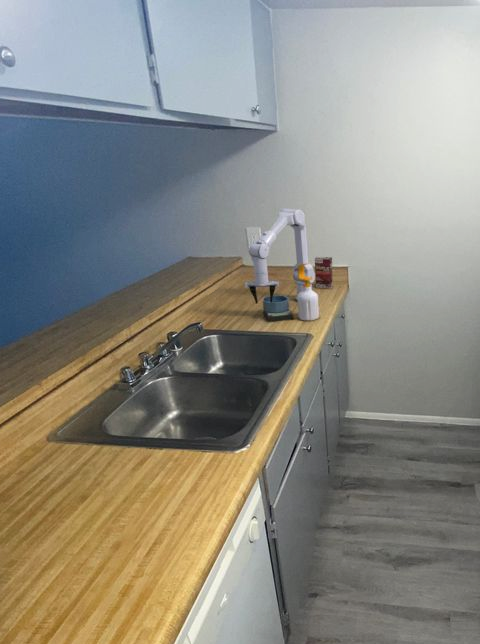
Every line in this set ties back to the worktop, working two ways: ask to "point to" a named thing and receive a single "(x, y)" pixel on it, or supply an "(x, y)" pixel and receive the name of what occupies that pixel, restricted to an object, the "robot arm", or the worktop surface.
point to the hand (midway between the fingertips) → (264, 302)
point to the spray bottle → (307, 298)
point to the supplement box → (323, 272)
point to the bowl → (276, 304)
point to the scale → (278, 316)
